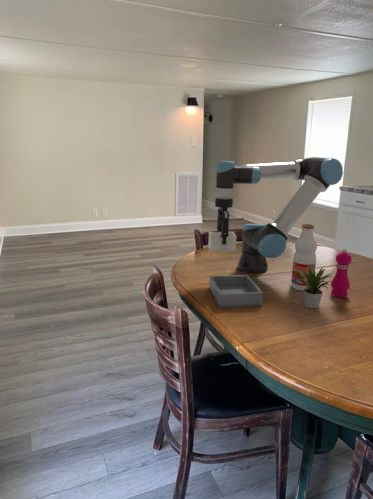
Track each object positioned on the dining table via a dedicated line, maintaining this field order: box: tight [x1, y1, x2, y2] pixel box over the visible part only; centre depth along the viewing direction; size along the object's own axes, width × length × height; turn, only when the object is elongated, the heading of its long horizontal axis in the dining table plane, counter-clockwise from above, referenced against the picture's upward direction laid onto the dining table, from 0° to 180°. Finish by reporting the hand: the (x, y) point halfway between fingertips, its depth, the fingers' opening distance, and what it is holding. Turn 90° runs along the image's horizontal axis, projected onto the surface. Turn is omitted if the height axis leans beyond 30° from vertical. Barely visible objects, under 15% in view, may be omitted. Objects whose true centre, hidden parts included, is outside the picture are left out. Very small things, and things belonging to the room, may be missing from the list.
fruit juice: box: [290, 223, 318, 292], centre depth 162 cm, size 9×9×28 cm
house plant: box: [298, 266, 336, 309], centre depth 142 cm, size 14×14×16 cm
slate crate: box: [208, 274, 264, 309], centre depth 153 cm, size 17×21×6 cm
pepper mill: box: [330, 248, 353, 298], centre depth 155 cm, size 7×7×20 cm
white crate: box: [207, 231, 237, 253], centre depth 167 cm, size 11×8×7 cm
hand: (221, 248), depth 168 cm, fingers closed on white crate, 8 cm apart
